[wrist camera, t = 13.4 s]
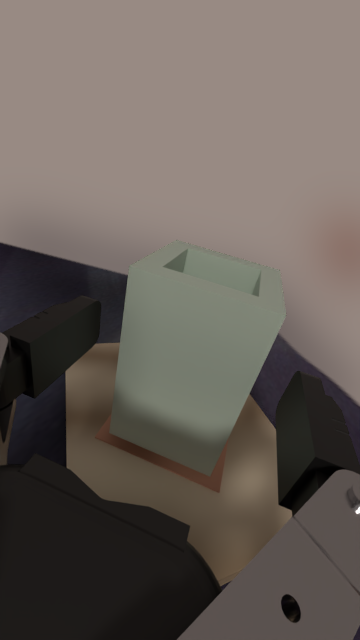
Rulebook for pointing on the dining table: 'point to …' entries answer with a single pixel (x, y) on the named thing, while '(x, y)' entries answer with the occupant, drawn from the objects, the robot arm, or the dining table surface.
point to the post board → (177, 470)
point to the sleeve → (192, 349)
